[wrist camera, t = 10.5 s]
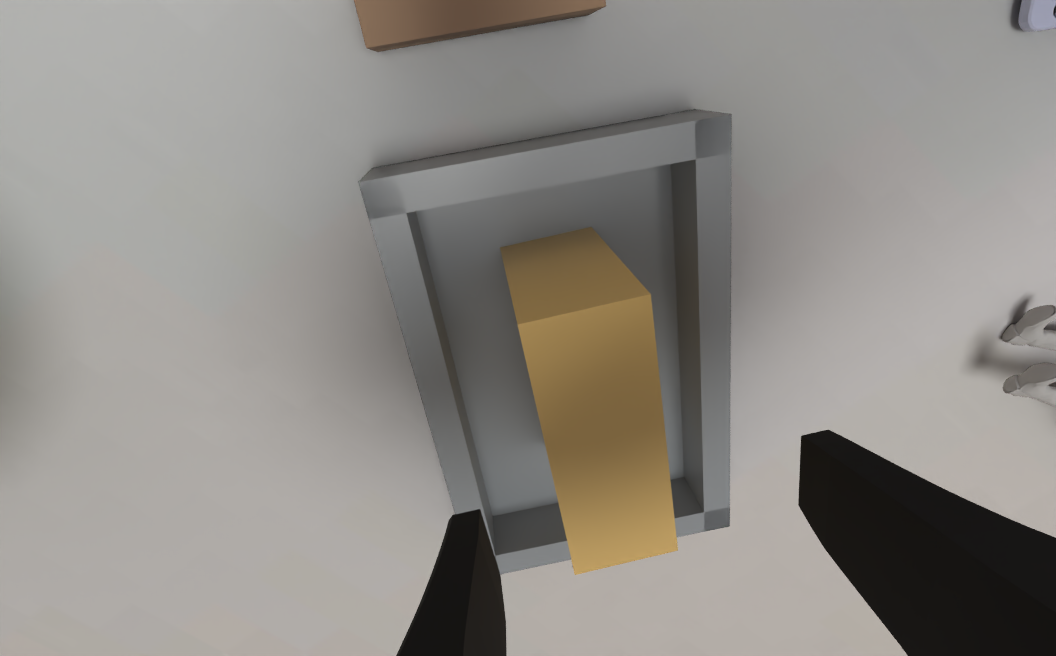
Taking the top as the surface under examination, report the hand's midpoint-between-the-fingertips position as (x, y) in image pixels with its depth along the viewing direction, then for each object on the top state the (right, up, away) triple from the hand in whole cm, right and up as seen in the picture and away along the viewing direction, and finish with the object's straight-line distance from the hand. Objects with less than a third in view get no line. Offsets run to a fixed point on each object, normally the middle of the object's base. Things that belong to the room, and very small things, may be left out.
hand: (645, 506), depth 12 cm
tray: (-1, +3, +8) cm, 8 cm away
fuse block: (-1, +3, +7) cm, 8 cm away
